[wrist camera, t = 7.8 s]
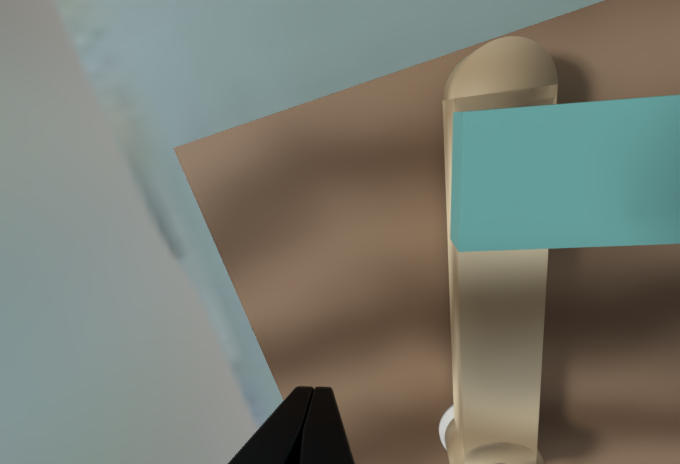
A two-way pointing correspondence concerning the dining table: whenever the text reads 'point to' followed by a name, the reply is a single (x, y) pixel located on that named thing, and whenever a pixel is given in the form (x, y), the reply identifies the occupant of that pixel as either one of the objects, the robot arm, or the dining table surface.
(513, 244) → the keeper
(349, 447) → the robot arm
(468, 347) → the link
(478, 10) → the dining table surface
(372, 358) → the base board
